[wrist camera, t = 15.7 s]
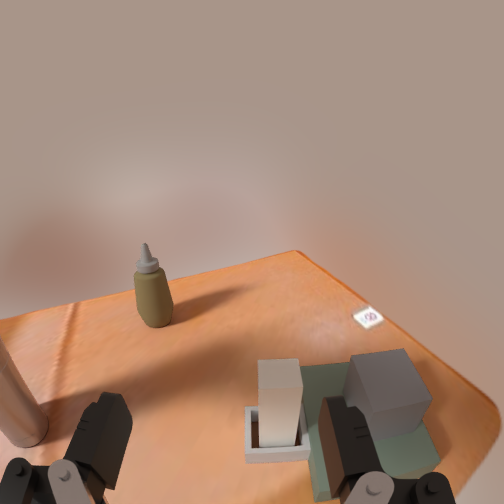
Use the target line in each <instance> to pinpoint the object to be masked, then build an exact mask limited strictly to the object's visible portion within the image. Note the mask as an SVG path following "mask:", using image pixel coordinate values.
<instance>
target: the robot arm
mask: <svg viewBox="0 0 504 504" xmlns="http://www.w3.org/2000/svg"><path fill="white" fill-rule="evenodd" d="M132 424H133V422H132V416H131V414H130V412H129V410H128V408H127V405H126V403H125V401H124V399H123V397H122V395H121V394H115V393H108V392H103V393H102V394H101V396H100V398H99V400H98V402H97V403H95V402H92V403H91V404H90V405H89V406H88V407H87V408H86V409H85V410H84V412H83V415H82V417H81V419H80V422H79V424H78V426H77V429H76V430H75V433H74V435H73V437H72V440H71V442H70V444H69V447H68V449H67V451H66V454H65V456H64V458H63V459H61V460H57V461H55V462H53V463H52V464H51V465H50V466H35V465H31V464H30V463H29V462H28V461H27V460H26V459H24V458H14V459H12V460H11V461H10V462H9V463H8V465H7V467H6V470H5V472H4V475H3V478H2V480H1V483H0V504H109V503H108V501H107V499H106V497H105V496H104V491H105V488H107V489H111V490H114V489H115V486H116V482H117V478H118V475H119V471H120V468H121V464H122V461H123V457H124V454H125V450H126V447H127V443H128V440H129V437H130V434H131V430H132ZM0 430H1V431H2V432H3V433H4V435H5V436H6V437H7V438H8V439H9V440H10V442H11V443H13V444H14V445H16V446H18V447H22V448H26V447H31V446H34V445H36V444H37V443H39V442H40V441H41V440H42V439H43V438H44V436H45V435H46V432H47V430H48V419H47V416H46V415H45V413H44V412H43V410H42V409H41V407H40V406H39V404H38V403H37V401H36V399H35V398H34V396H33V395H32V393H31V392H30V390H29V388H28V387H27V385H26V383H25V382H24V380H23V378H22V376H21V375H20V373H19V371H18V369H17V368H16V366H15V364H14V362H13V360H12V358H11V356H10V354H9V352H8V351H7V349H6V347H5V345H4V343H3V340H2V338H1V336H0ZM318 431H319V436H320V441H321V446H322V451H323V456H324V462H325V467H326V472H327V477H328V482H329V488H330V493H331V498H332V499H333V498H340V503H341V504H456V503H455V499H454V496H453V493H452V490H451V487H450V484H449V481H448V479H447V478H446V477H445V476H444V475H443V474H441V473H438V472H429V473H426V474H424V475H423V476H422V477H420V479H397V478H394V477H391V476H389V475H388V474H387V473H386V472H385V471H384V470H383V468H382V466H381V464H380V460H379V457H378V454H377V451H376V448H375V445H374V442H373V439H372V436H371V433H370V430H369V428H368V424H367V421H366V418H365V416H364V414H363V413H362V412H361V411H360V410H359V409H358V408H357V407H356V406H352V407H347V405H346V402H345V399H344V396H343V395H337V396H329V397H323V400H322V405H321V409H320V414H319V418H318Z"/></svg>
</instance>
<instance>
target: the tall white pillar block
mask: <svg viewBox="0 0 504 504" xmlns="http://www.w3.org/2000/svg"><path fill="white" fill-rule="evenodd" d="M302 392H303V383H302V377H301V372H300V366H299V361H298V358H292V359H267V360H258V414H259V448H276V447H290V446H294V445H295V439H296V433H297V427H298V420H299V414H300V407H301V400H302Z"/></svg>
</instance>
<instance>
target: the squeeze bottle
mask: <svg viewBox="0 0 504 504" xmlns="http://www.w3.org/2000/svg"><path fill="white" fill-rule="evenodd" d="M136 267H137V272H136V273H135V274H134V283H135V293H136V302H137V310H138V312H139V314H140V316H141V317H142V319H143V320H144V322H145V323H146V325H148V326H149V327H153V328H159V327H163V326H165V325H167V324H168V323H169V322H170V321H171V316H172V310H173V301H172V297H171V294H170V290H169V286H168V283H167V279H166V276H165V272H164V270H163V269H162V268H160V267H159V262H158V259H157V258H154V257H152V256H151V253H150V251H149V248H148V245H147V244H146V243H145V244H142V245H141V259H140V260H138V261H137V263H136Z"/></svg>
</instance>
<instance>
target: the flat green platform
mask: <svg viewBox="0 0 504 504" xmlns="http://www.w3.org/2000/svg"><path fill="white" fill-rule="evenodd" d="M300 372H301V377H302V383H303V392H302V400H301V407H300V414H299V420H298V427H297V428H298V435H299V442H300V446H290V447H276V448H252V441H251V422H259V414H258V406H245V461H246V464H249V463H276V462H290V461H301V460H308V462H309V469H310V475H311V482H312V488H313V495H314V502H322V501H328V500H334V499H340V498H333V499H332V498H331V493H330V488H329V482H328V477H327V472H326V467H325V462H324V456H323V451H322V446H321V441H320V436H319V431H318V418H319V414H320V409H321V405H322V400H323V397H329V396H337V395H343V396H344V399H345V402H346V405H347V407H352V406H356V407H357V408H358V409H359V410H360V411H361V412H362V413H363V414H364V416H365V418H366V421H367V424H368V428H369V430H370V433H371V436H372V439H373V442H374V445H375V448H376V451H377V454H378V457H379V460H380V464H381V466H382V468H383V470H384V471H385V472H386V473H387V474H388V475H389V476H391V477H394V478H397V479H418V478H420V477H422V476H423V475H424V474H426V473H429V472H432V471H433V469H434V468H435V467H436V466H437V465H438V464H439V463H440V462H441V459H440V457H439V455H438V453H437V450H436V448H435V446H434V444H433V442H432V439H431V437H430V435H429V433H428V431H427V429H426V427H425V425H424V423H423V420H422V417H423V416H424V414H425V412H426V410H427V409H428V407H429V405H430V403H431V401H432V400H433V398H432V396H431V394H430V392H429V391H428V389H427V387H426V385H425V384H424V382H423V380H422V379H421V377H420V375H419V373H418V372H417V370H416V368H415V367H414V365H413V363H412V362H411V360H410V358H409V357H408V355H407V353H406V352H405V350H404V348H403V349H396V350H390V351H383V352H376V353H369V354H361V355H352V356H351V359H350V362H345V363H336V364H325V365H314V366H301V367H300Z"/></svg>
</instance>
